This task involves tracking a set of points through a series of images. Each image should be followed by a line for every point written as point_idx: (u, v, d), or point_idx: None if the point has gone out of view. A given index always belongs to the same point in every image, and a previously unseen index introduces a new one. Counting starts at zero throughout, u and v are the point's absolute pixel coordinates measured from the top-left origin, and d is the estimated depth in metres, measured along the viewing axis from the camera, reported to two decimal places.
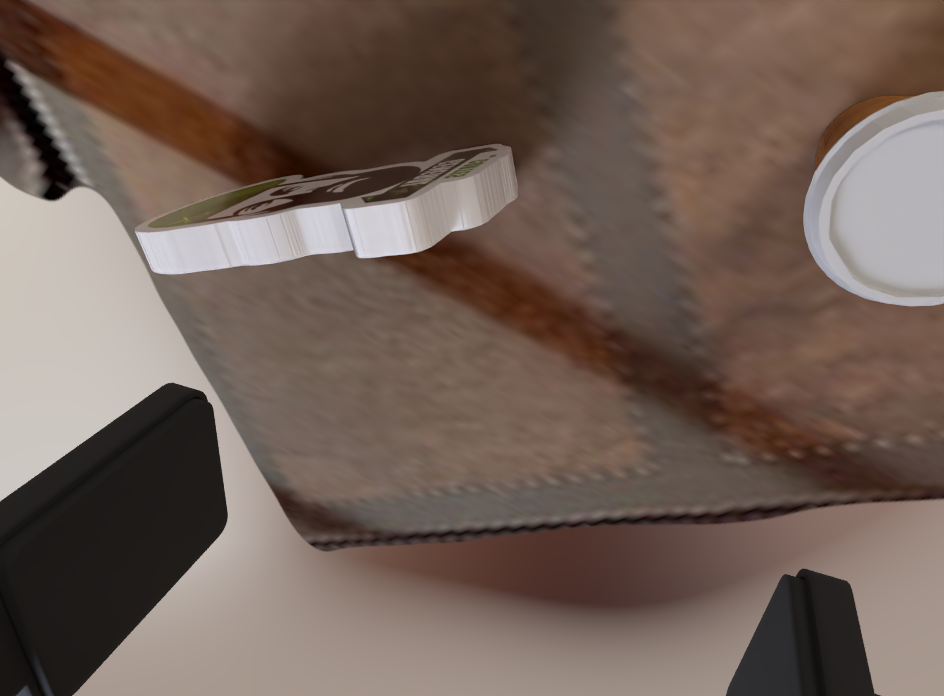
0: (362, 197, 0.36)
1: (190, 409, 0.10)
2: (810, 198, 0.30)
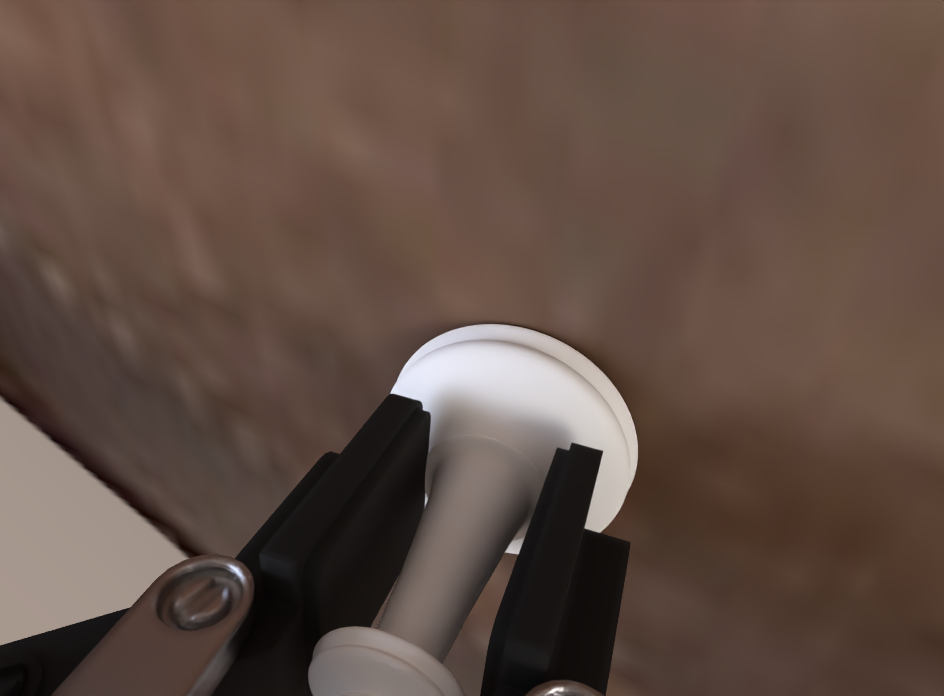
0: None
1: (418, 419, 0.11)
2: None
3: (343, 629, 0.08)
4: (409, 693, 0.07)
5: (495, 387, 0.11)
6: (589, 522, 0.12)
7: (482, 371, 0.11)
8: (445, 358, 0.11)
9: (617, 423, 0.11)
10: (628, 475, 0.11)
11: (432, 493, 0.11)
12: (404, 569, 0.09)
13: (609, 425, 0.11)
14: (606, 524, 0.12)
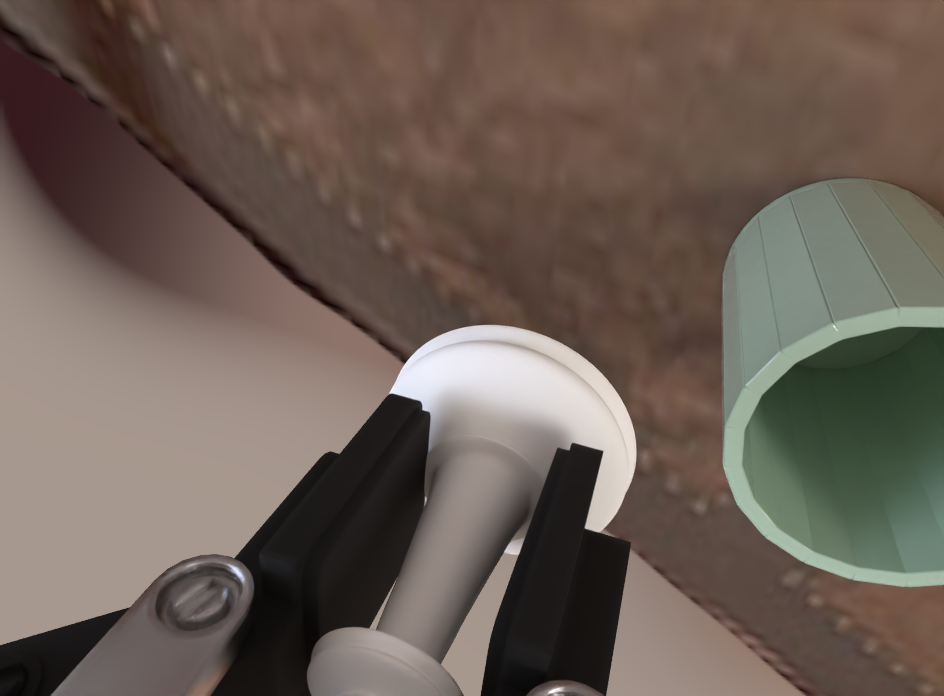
0: None
1: (417, 419, 0.11)
2: None
3: (342, 629, 0.08)
4: (407, 693, 0.08)
5: (494, 388, 0.11)
6: (588, 522, 0.12)
7: (481, 372, 0.11)
8: (444, 359, 0.11)
9: (615, 424, 0.11)
10: (627, 476, 0.11)
11: (431, 494, 0.11)
12: (403, 570, 0.09)
13: (607, 426, 0.11)
14: (605, 524, 0.12)
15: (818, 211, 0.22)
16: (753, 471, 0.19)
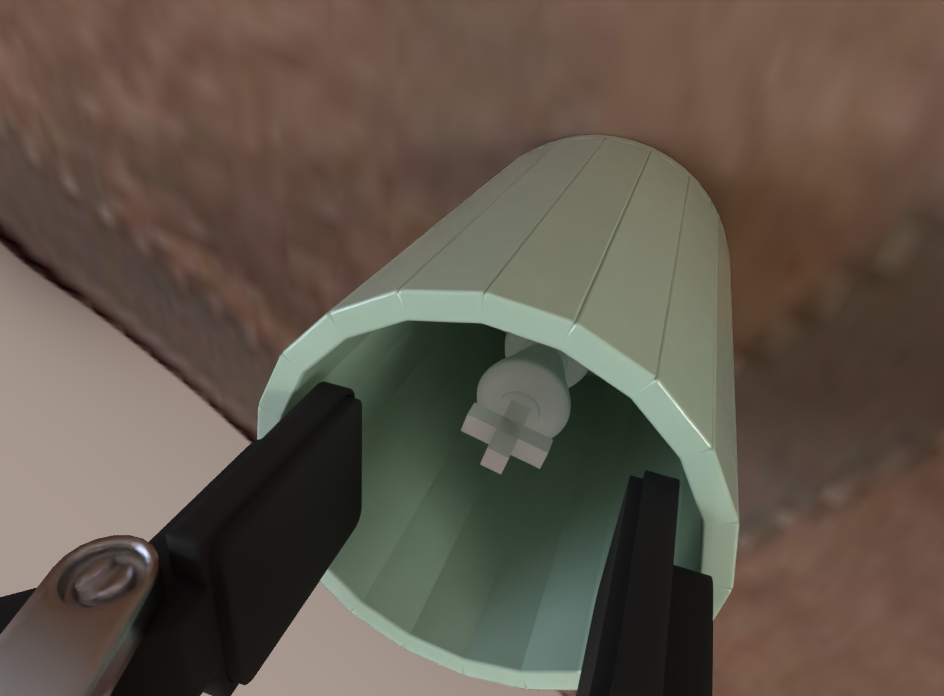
0: None
1: (346, 407, 0.11)
2: None
3: None
4: None
5: None
6: None
7: None
8: None
9: None
10: None
11: None
12: None
13: None
14: None
15: (512, 171, 0.17)
16: None
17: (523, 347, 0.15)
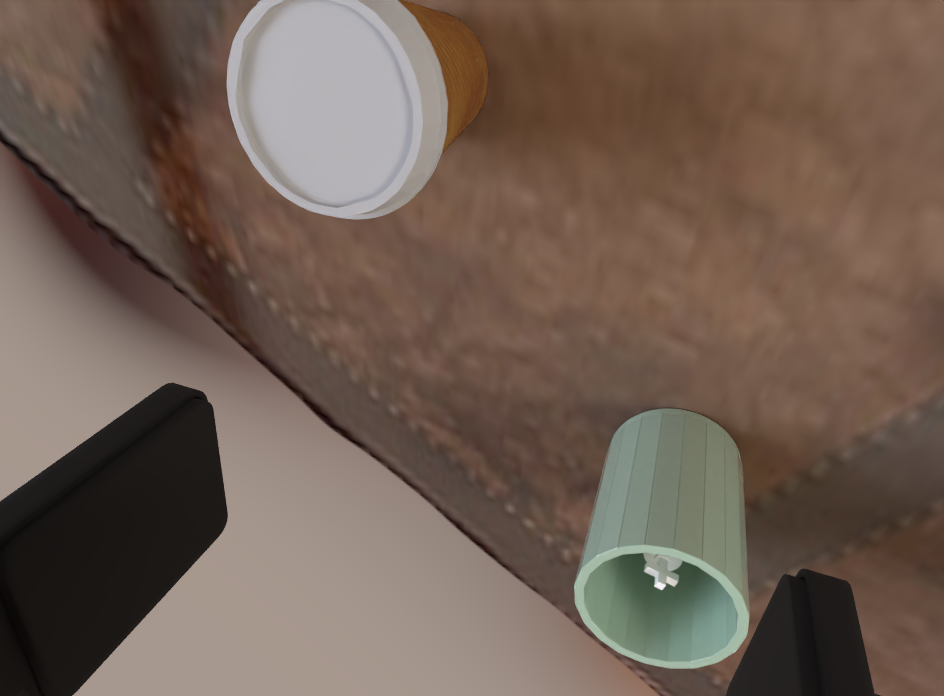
0: None
1: (190, 409, 0.10)
2: None
3: None
4: None
5: None
6: None
7: None
8: None
9: None
10: None
11: None
12: None
13: None
14: None
15: (647, 442, 0.38)
16: (596, 601, 0.35)
17: None
